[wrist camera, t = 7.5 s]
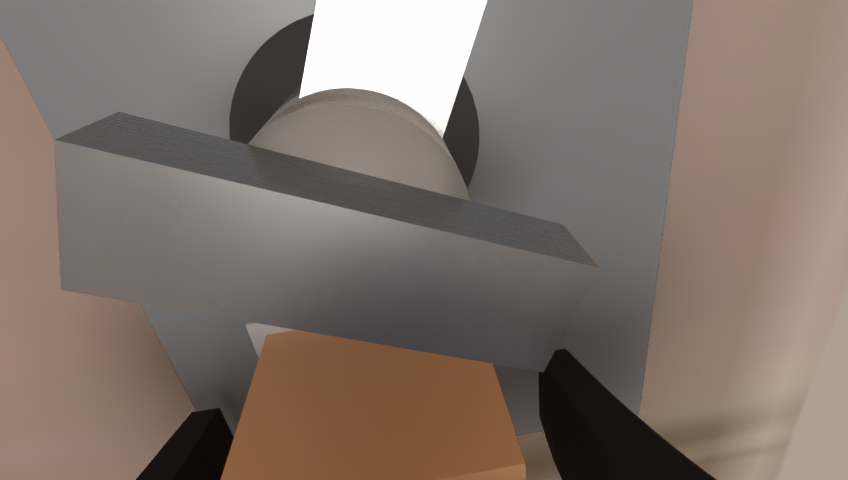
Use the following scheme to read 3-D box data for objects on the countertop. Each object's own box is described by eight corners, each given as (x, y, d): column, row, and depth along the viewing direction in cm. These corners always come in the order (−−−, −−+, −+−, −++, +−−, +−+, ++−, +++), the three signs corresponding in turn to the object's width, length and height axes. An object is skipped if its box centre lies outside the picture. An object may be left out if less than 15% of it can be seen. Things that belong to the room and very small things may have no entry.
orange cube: (485, 438, 12) (531, 617, 9) (316, 467, 12) (293, 661, 8) (471, 300, 10) (525, 463, 6) (266, 334, 10) (207, 520, 6)
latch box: (605, 365, 14) (640, 419, 12) (253, 426, 14) (235, 491, 12) (653, -266, 8) (744, -353, 6) (-16, -174, 7) (-148, -234, 5)
